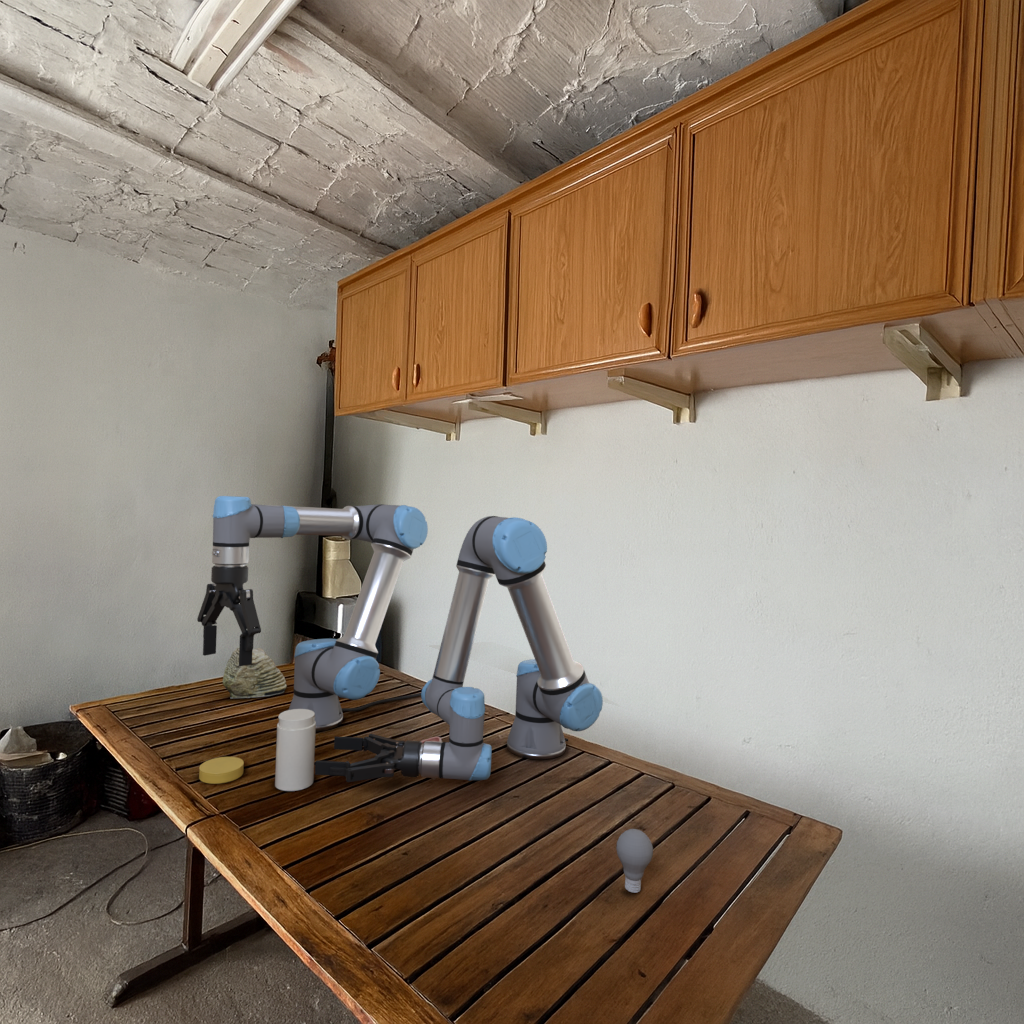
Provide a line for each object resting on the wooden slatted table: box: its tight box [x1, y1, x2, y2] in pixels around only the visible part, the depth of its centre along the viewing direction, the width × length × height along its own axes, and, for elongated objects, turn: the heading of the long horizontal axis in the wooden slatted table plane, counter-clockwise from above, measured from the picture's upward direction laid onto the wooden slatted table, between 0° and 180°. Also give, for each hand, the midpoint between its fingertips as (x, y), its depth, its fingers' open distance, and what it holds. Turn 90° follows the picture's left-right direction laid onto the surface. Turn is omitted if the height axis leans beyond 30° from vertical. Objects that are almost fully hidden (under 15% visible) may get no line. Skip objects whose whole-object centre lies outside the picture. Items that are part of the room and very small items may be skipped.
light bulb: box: [615, 828, 654, 894], centre depth 106 cm, size 6×6×10 cm
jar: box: [274, 709, 317, 792], centre depth 140 cm, size 8×8×15 cm
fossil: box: [222, 646, 288, 699], centre depth 198 cm, size 9×18×15 cm, turn 132°
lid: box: [198, 756, 245, 785], centre depth 142 cm, size 9×9×2 cm
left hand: (226, 659), depth 142 cm, fingers open, 13 cm apart
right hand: (325, 754), depth 140 cm, fingers open, 13 cm apart
